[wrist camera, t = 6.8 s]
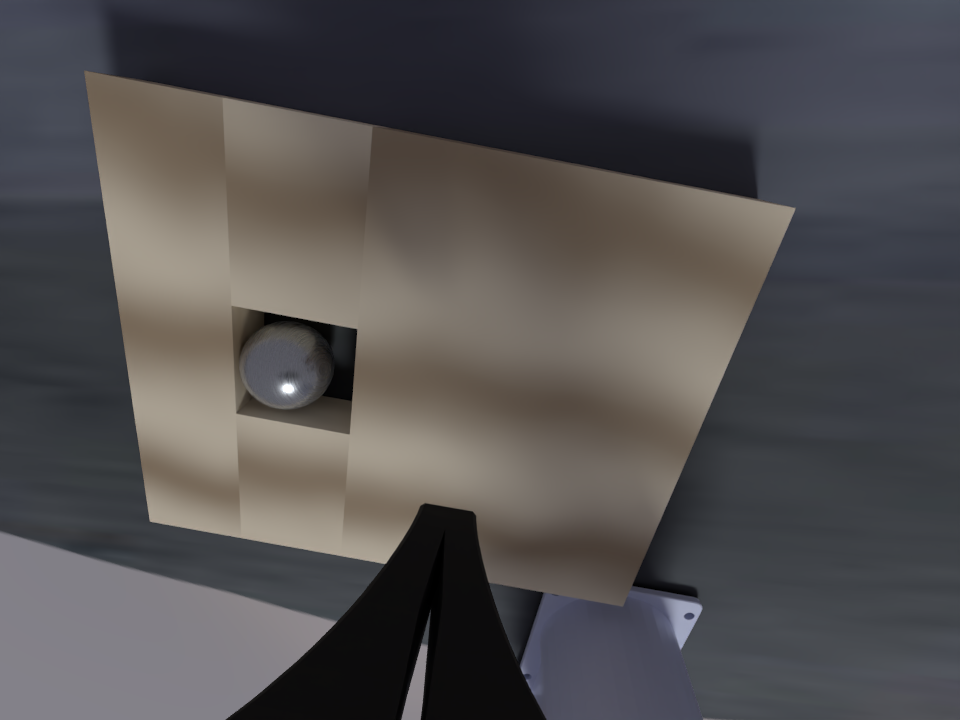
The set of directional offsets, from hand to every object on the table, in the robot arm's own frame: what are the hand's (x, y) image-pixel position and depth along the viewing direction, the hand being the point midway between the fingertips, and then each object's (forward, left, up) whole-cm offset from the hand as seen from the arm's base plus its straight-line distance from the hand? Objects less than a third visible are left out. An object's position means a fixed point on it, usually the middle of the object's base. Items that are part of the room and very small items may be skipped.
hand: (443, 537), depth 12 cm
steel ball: (0, +7, -8) cm, 10 cm away
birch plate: (0, +2, -9) cm, 10 cm away
